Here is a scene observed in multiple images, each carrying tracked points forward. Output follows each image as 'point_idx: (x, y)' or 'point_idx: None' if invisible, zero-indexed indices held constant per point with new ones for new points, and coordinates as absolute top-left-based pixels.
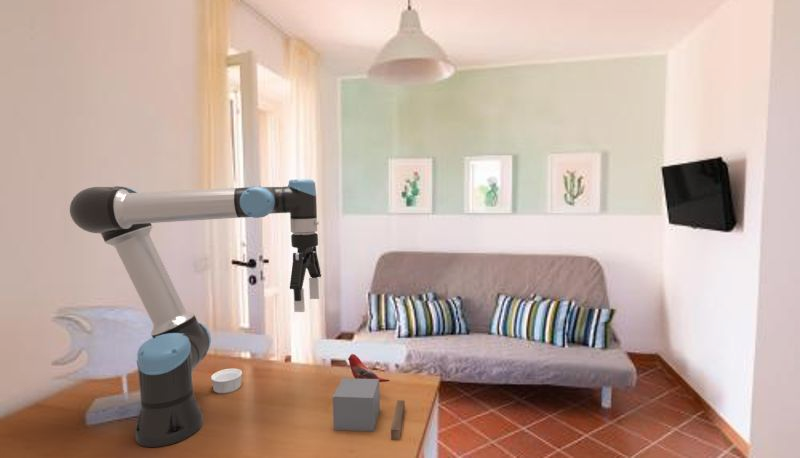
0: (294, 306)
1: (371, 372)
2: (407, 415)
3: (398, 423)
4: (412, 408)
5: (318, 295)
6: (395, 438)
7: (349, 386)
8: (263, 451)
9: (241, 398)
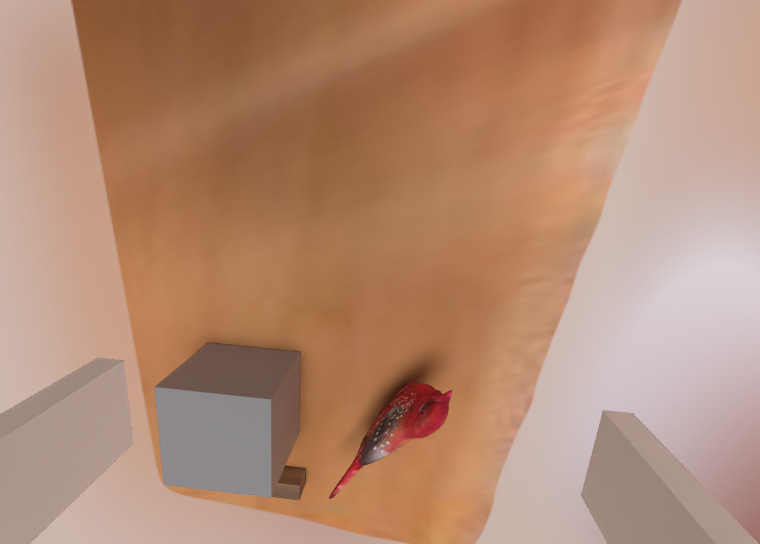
0: (45, 391)
1: (372, 456)
2: None
3: None
4: (310, 496)
5: (607, 531)
6: None
7: (219, 424)
8: (108, 203)
9: (348, 22)
